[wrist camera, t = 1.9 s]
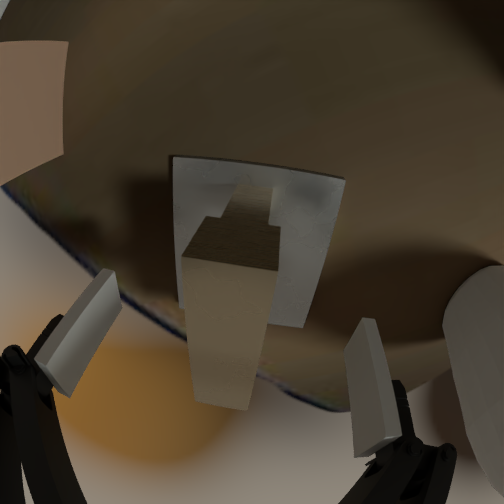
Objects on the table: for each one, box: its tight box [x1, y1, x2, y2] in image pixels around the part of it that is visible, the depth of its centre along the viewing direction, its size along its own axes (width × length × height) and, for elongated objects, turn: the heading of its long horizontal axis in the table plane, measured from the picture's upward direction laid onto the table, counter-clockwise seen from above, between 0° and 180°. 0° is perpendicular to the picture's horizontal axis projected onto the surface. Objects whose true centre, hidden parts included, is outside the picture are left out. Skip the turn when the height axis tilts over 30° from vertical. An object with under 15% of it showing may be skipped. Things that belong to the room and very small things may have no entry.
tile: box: [0, 41, 68, 186], centre depth 10 cm, size 9×2×9 cm, turn 172°
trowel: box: [173, 155, 346, 411], centre depth 15 cm, size 12×10×9 cm
